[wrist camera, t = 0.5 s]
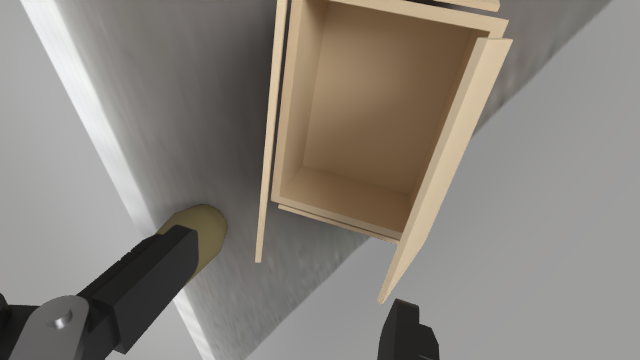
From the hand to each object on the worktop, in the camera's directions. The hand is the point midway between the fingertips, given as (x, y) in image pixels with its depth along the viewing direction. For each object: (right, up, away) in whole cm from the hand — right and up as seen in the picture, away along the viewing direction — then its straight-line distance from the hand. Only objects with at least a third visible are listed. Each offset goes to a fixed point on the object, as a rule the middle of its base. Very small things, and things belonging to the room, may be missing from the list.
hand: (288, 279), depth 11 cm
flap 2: (+12, +5, +13) cm, 18 cm away
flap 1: (-3, +9, +15) cm, 18 cm away
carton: (+7, +11, +21) cm, 25 cm away
